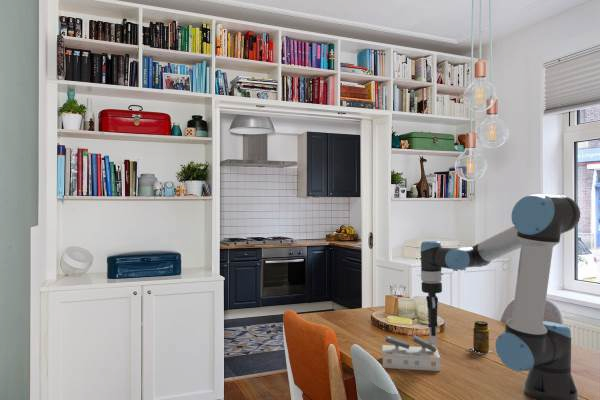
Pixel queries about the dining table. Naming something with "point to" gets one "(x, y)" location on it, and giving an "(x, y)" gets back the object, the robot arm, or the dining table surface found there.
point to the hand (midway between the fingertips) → (433, 343)
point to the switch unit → (410, 358)
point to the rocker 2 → (424, 343)
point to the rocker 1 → (397, 342)
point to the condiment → (480, 338)
